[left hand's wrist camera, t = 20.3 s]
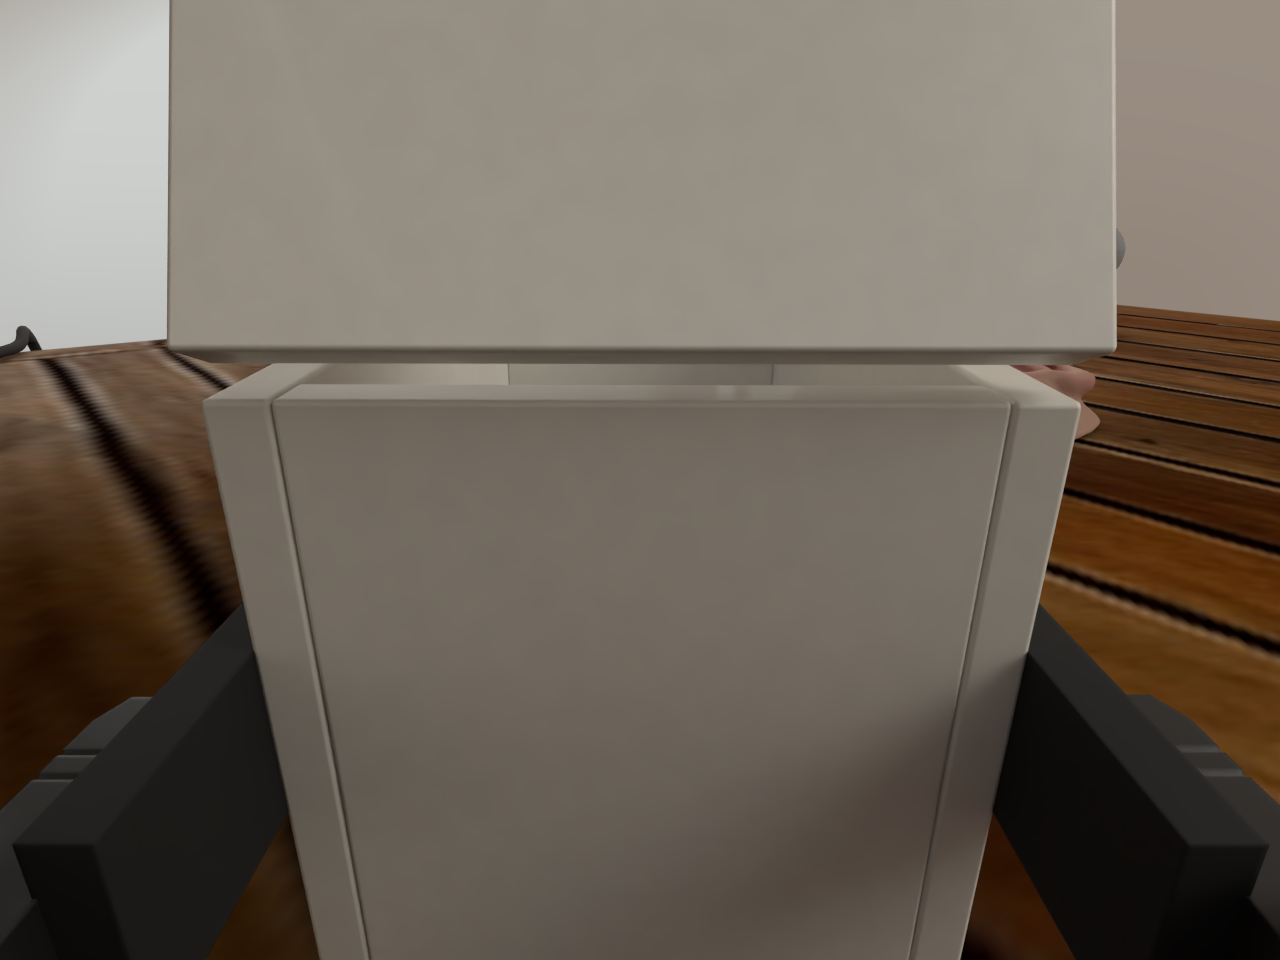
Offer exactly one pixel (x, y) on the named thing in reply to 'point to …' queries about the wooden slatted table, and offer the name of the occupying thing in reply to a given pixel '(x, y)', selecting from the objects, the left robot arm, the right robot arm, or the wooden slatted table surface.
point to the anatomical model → (1067, 388)
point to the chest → (640, 647)
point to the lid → (642, 181)
